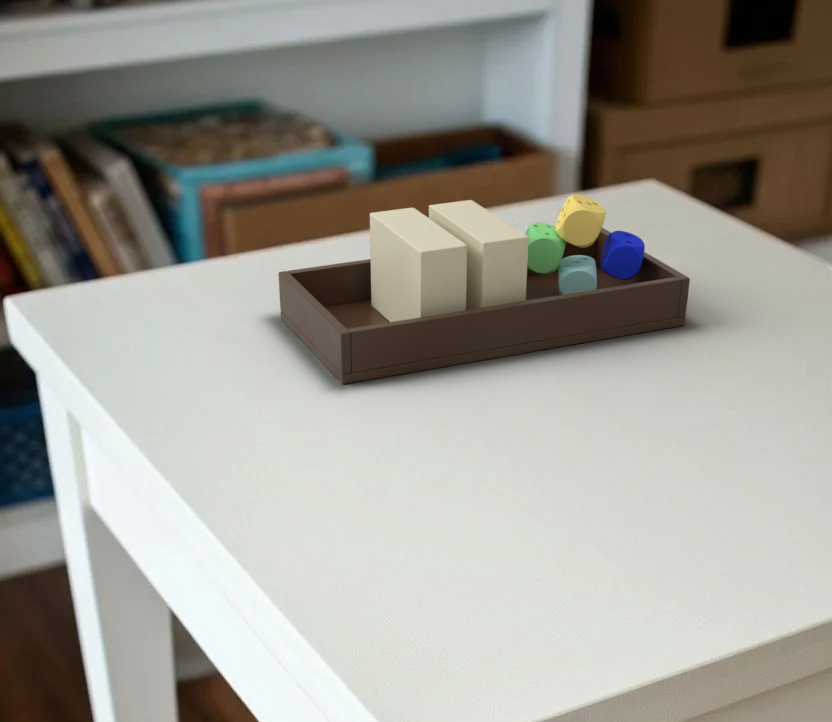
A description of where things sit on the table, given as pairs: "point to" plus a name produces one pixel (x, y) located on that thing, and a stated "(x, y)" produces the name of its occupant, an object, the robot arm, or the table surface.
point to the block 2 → (486, 253)
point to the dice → (581, 229)
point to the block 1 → (415, 266)
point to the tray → (471, 317)
